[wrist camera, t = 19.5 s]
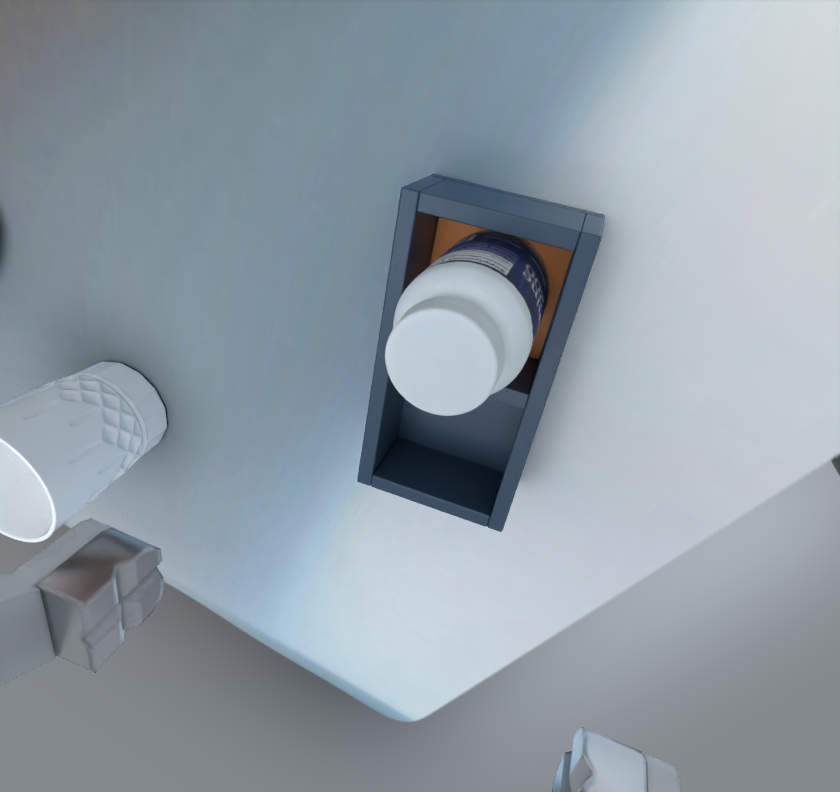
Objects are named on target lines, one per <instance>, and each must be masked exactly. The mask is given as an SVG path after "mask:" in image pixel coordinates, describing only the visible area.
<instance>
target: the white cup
mask: <svg viewBox="0 0 840 792" xmlns="http://www.w3.org/2000/svg"><path fill="white" fill-rule="evenodd" d="M166 428H167V420H166V410H165V407H164V405H163V403H162V401H161V399H160V397H159V395H158V393H157V391H156V389H155V388H154V387H153V386H152V385H151V384H150V383H149V382H148V381H147V380H146V379H145V378H144V377H143V376H142V375H141V374H140V373H139V372H137V371H135V370H133V369H131V368H130V367H128V366H126V365H124V364H122V363H117V362H100V363H97V364H95V365H93V366H91V367H89V368H86V369H84V370H82V371H80V372H78V373H75V374H73V375H71V376H68V377H64V378H59V379H58V380H55V381H52V382H50V383H47V384H45V385H43V386H41V387H38V388H36V389H34V390H31V391H28V392H26V393H23V394H21V395H19V396H17V397H14V398H12V399H10V400H8V401H5V402H3V403H1V404H0V533H2V534H4V535H6V536H8V537H10V538H13V539H16V540H19V541H24V542H40V541H43V540H45V539H47V538H49V537H50V536H51V535H52V534H53V533H54V532H56V531H57V530H58V529H59V528H60V527H61V526H63V525H64V524H65V523H66V522H67V521H69V520H70V519H71V518H72V517H73V516H75V515H76V514H77V513H78V512H79V511H80V510H82V509H83V508H84V507H85V506H86V505H88V504H89V503H90V502H91V501H92V500H94V499H95V498H96V497H97V496H98V495H100V494H101V493H102V492H103V491H104V490H106V489H107V488H108V487H109V486H110V485H111V484H113V482H114V481H115V480H116V479H117V478H119V477H120V476H121V475H123V474H124V473H125V472H126V471H127V470H129V469H130V467H131V466H132V465H133V464H134V463H135V462H136V461H137V460H138V459H139V458H140V457H141V456H143V455H144V454H145V453H146V452H148V451H149V450H150V449H151V448H153V447H154V446H155V445H156V444H157V443H159V442H160V441H161V439H162V437H163V435H164V433H165V430H166Z"/></svg>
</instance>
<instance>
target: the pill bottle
mask: <svg viewBox="0 0 840 792" xmlns="http://www.w3.org/2000/svg"><path fill="white" fill-rule="evenodd" d="M548 295H549V278H548V274H547V270H546V266H545V264H544V262H543V260H542V258H541V256H540V255H539V253H538V252H537V251H536V250H535V249H534V247H533V246H532V245H530V244H529V243H528V242H527V241H525V240H524V239H522V238H519V237H515V236H511V235H507V234H503V233H499V232H495V231H491V230H485V231H479V232H476V233H473V234H470V235H468V236H466V237H464V238H463V239H461V240H460V241H458V242H457V243H455V244H454V245H453V246H452V247H451V248H450V249H449V250H447V251H446V252H445V253H444V254H443V255H442V256H440V257H439V258H438V259H437V260H436V261H435V262H434V263H432V264H431V265H430V266H429V267H428V268H427V269H426V270H425V271H423V272H422V273H421V274H420V275H418V276H417V277H416V278H415V279H414V280H413V281H412V282H411V283H410V284H409V286H408V287H407V288H406V289H405V291H404V292H403V294H402V296H401V297H400V299H399V302H398V304H397V307H396V310H395V315H394V322H393V330H392V332H391V334H390V336H389V338H388V341H387V344H386V350H385V362H386V367H387V372H388V375H389V377H390V379H391V381H392V383H393V385H394V386H395V388H396V389H397V391H398V392H399V393H400V394H401V395H402V396H403V397H404V398H405V399H406V400H407V401H408V402H409V403H411V404H412V405H414V406H416V407H417V408H419V409H421V410H423V411H426V412H429V413H432V414H436V415H443V416H452V415H460V414H463V413H466V412H470V411H471V410H473V409H475V408H477V407H478V406H479V405H481V404H482V403H483V402H484V401H485V400H486V399H487V398H488V397H489V395H491V394H494V393H496V392H498V391H500V390H501V389H503V388H504V387H506V386H507V385H508V384H510V383H511V382H512V381H513V380H514V379H515V378H516V377H517V375H518V374H519V373H520V371H521V370H522V368H523V366H524V364H525V362H526V360H527V358H528V356H529V353H530V351H531V348H532V345H533V342H534V339H535V337H536V334H537V331H538V328H539V325H540V322H541V319H542V316H543V313H544V310H545V307H546V304H547V299H548Z"/></svg>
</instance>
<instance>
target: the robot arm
mask: <svg viewBox="0 0 840 792" xmlns="http://www.w3.org/2000/svg"><path fill="white" fill-rule="evenodd" d="M161 562H162V557H161V549H160V548H158V547H155V546H153V545H151V544H148V543H146V542H144V541H142V540H139V539H137V538H135V537H133V536H130V535H128V534H126V533H124V532H121V531H119V530H117V529H115V528H113V527H111V526H108V525H106V524H104V523H101V522H99V521H96V520H94V519H92V518H91V519H88V520H85V521H82V522H80V523H79V524H77V525H76V526H75V527H73V528H72V529H71V530H69V531H68V532H67V533H65V534H64V535H63V536H61V537H60V538H59V539H57V540H56V541H55V542H53V543H52V544H51V545H49V546H48V547H47V548H45V549H44V550H43V551H41V552H40V553H39V554H37V555H36V556H34V557H33V558H32V559H30V560H29V561H28V562H26V563H25V564H24V565H22V566H21V567H20V568H18V569H17V570H16V571H14V572H13V573H12V574H10V575H9V574H7V573H4V572H2V573H0V685H2V684H5V683H6V682H9V681H11V680H13V679H15V678H17V677H19V676H21V675H23V674H25V673H27V672H29V671H31V670H33V669H35V668H37V667H39V666H41V665H43V664H45V663H47V662H49V661H52V660H53V659H55V658H56V656H59V657H61V658H63V659H65V660H68V661H70V662H72V663H74V664H76V665H79V666H81V667H83V668H85V669H88V670H90V671H92V672H94V673H96V672H97V671H98V669H100V667H101V666H102V665H103V664H104V663H105V662H106V661H107V660H108V659H109V658H110V657H111V656H112V655H113V654H114V653H115V652H116V651H117V650H118V649H119V648H120V647H121V645H122V644H123V643H124V637H125V631H126V630H129V629H131V628H134V627H136V626H139V625H141V624H142V623H143V622H144V621H145V620H146V619H147V618H148V617H149V616H150V614H151V613H152V612H153V611H154V609H155V607H156V605H157V604H158V602H159V600H160V598H161V595H162V592H163V588H164V581H163V576H162V575H161V573H160V572H159V570H158V568H157V566H158V565H159V564H160V563H161ZM552 792H681V786H680V776H679V774H678V771H677V768H676V767H674V766H673V765H671V764H669V763H666V762H663V761H661V760H659V759H656V758H654V757H651V756H649V755H646V754H643V753H642V752H641V751H639V750H637V749H634V748H632V747H629V746H627V745H624V744H622V743H620V742H617V741H615V740H612V739H610V738H607V737H605V736H602V735H600V734H597V733H595V732H593V731H590V730H588V729H585V728H583V727H582V728H580V729H578V731H577V733H576V734H575V736H574V738H573V746H572V751H570V752H566V753H565V754H564V756H563V757H562V760H561V761H560V763H559V766H558V769H557V773H556V776H555V779H554V783H553V788H552Z"/></svg>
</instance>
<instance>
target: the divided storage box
mask: <svg viewBox="0 0 840 792" xmlns="http://www.w3.org/2000/svg"><path fill="white" fill-rule="evenodd" d="M603 223H604V215H601V214H597V213H593V212H589V211H585V210H581V209H576V208H572V207H568V206H564V205H560V204H556V203H552V202H547V201H543V200H539V199H535V198H531V197H527V196H523V195H519V194H514V193H510V192H506V191H502V190H498V189H494V188H490V187H485V186H481V185H477V184H473V183H469V182H465V181H461V180H456V179H452V178H448V177H444V176H440V175H436V174H433V175H430V176H428V177H426V178H423V179H421V180H419V181H416V182H414V183H411V184H409V185H407V186H404V187H402V189H401V194H400V201H399V208H398V214H397V221H396V228H395V234H394V241H393V247H392V254H391V261H390V267H389V274H388V281H387V287H386V294H385V300H384V307H383V314H382V320H381V327H380V334H379V340H378V347H377V353H376V360H375V367H374V373H373V380H372V387H371V393H370V400H369V406H368V413H367V420H366V426H365V433H364V440H363V446H362V453H361V459H360V466H359V473H358V479H357V481H358V482H360V483H363V484H366V485H369V486H370V485H371V486H372V487H375V488H377V489H380V490H383V491H386V492H389V493H392V494H395V495H397V496H400V497H403V498H406V499H409V500H412V501H414V502H417V503H420V504H423V505H426V506H429V507H431V508H434V509H437V510H440V511H443V512H446V513H449V514H451V515H454V516H457V517H460V518H463V519H466V520H468V521H471V522H474V523H477V524H480V525H483V526H488V528H491V529H494V530H497V531H500V532H502V530H503V527H504V525H505V522H506V519H507V516H508V513H509V510H510V507H511V504H512V501H513V498H514V495H515V492H516V489H517V486H518V483H519V480H520V477H521V474H522V471H523V468H524V465H525V462H526V459H527V457H528V454H529V451H530V448H531V445H532V442H533V439H534V436H535V433H536V430H537V427H538V424H539V421H540V418H541V415H542V412H543V409H544V406H545V403H546V400H547V397H548V394H549V392H550V389H551V386H552V383H553V380H554V377H555V374H556V371H557V368H558V365H559V362H560V359H561V356H562V353H563V350H564V347H565V344H566V341H567V338H568V335H569V332H570V329H571V327H572V324H573V321H574V318H575V315H576V312H577V309H578V306H579V303H580V300H581V297H582V294H583V291H584V288H585V285H586V282H587V279H588V276H589V273H590V270H591V267H592V264H593V261H594V259H595V256H596V253H597V250H598V247H599V244H600V241H601V237H602V230H603ZM485 230H491V231H495V232H499V233H503V234H507V235H511V236H515V237H519V238H522V239H524V240H525V241H527V242H528V243H529V244H530V245H532V246H533V247H534V249H535V250H536V251H537V252H538V253H539V255H540V256H541V258H542V260H543V262H544V264H545V266H546V270H547V274H548V278H549V295H548V299H547V304H546V307H545V310H544V313H543V316H542V319H541V322H540V325H539V328H538V331H537V334H536V337H535V339H534V342H533V345H532V348H531V351H530V353H529V356H528V358H527V360H526V362H525V364H524V366H523V368H522V370H521V371H520V373H519V374H518V375H517V377H516V378H515V379H514V380H513V381H512V382H511V383H510V384H508V385H507V386H506V387H504V388H503V389H501V390H500V391H498V392H496V393H494V394H491V395H489V397H488V398H487V399H486V400H485V401H484V402H483V403H482V404H481V405H479V406H478V407H477V408H475V409H473V410H471V411H470V412H466V413H463V414H460V415H452V416H443V415H436V414H432V413H429V412H426V411H423V410H421V409H419V408H417V407H416V406H414V405H412V404H411V403H409V402H408V401H407V400H406V399H405V398H404V397H403V396H402V395H401V394H400V393H399V392H398V391H397V389H396V388H395V386H394V385H393V383H392V381H391V379H390V377H389V375H388V372H387V367H386V362H385V350H386V344H387V341H388V338H389V336H390V334H391V332H392V330H393V322H394V315H395V310H396V307H397V304H398V302H399V299H400V297H401V296H402V294H403V292H404V291H405V289H406V288H407V287H408V286H409V284H410V283H411V282H412V281H413V280H414V279H415V278H416V277H417V276H418V275H420V274H421V273H422V272H423V271H425V270H426V269H427V268H428V267H429V266H430V265H431V264H432V263H434V262H435V261H436V260H437V259H438V258H439V257H440V256H442V255H443V254H444V253H445V252H446V251H447V250H449V249H450V248H451V247H452V246H453V245H454V244H455V243H457V242H458V241H460V240H461V239H463V238H464V237H466V236H468V235H470V234H473V233H476V232H479V231H485Z"/></svg>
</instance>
